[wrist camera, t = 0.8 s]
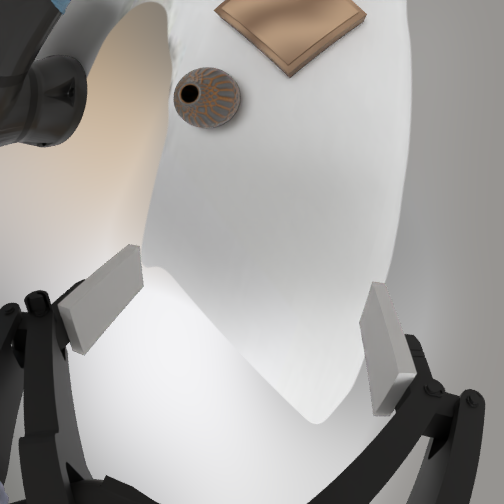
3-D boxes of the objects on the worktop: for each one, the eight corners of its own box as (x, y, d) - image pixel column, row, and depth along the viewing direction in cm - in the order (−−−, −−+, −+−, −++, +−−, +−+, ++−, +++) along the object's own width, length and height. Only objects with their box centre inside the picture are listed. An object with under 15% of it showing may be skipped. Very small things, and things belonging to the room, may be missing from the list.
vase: (194, 72, 31) (161, 59, 23) (249, 75, 31) (230, 60, 23) (187, 124, 34) (152, 126, 26) (241, 130, 34) (219, 132, 26)
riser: (220, 16, 28) (212, 9, 25) (291, -37, 23) (288, -48, 20) (289, 77, 30) (287, 73, 27) (363, 21, 25) (367, 13, 22)
